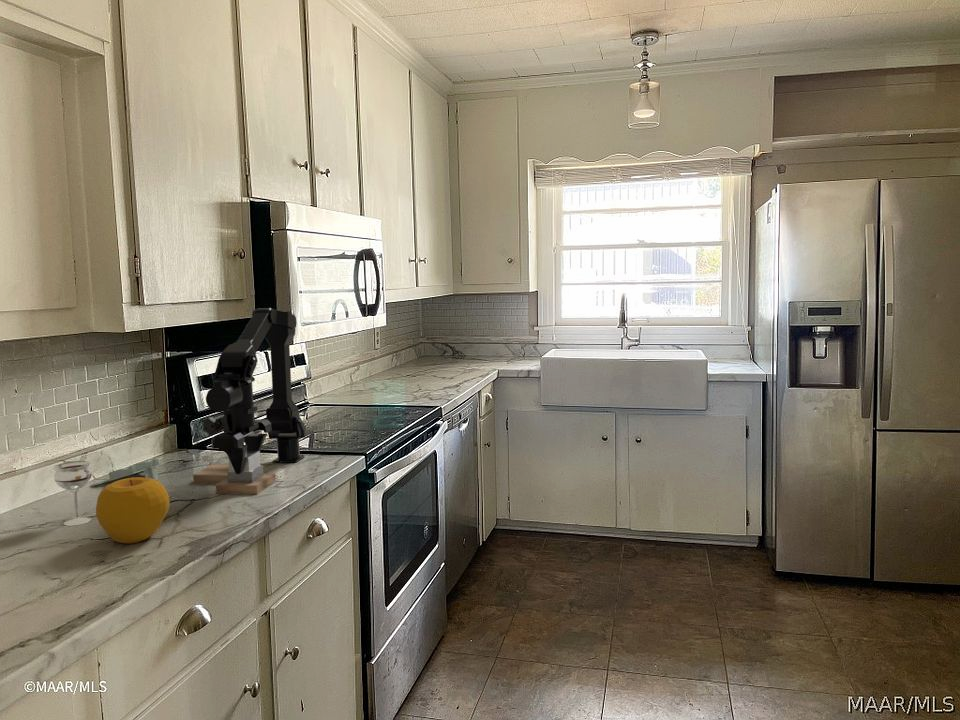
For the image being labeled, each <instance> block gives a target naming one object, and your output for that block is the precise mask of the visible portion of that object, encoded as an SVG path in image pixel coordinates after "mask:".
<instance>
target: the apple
mask: <svg viewBox="0 0 960 720" xmlns="http://www.w3.org/2000/svg"><path fill="white" fill-rule="evenodd" d="M170 502H171V501H170V496H169V494H168V491H167V489H166V487H165V486H164V485H163V484H162V483H161V482H160V480H158V481H157V480H156V479H151V478H145V477H143V476H140V477H139V476H137V477H133V476H132V477H127V478H125V477H124V478H122V479H119V480H116V481H114V482H111V483H109V484H107V485H105V487H104V488H103V489H102V490H101V491H100V493H98V496H97V500H96V507H95V515H96V518H97V521H98V523H99V525H100V527H101V528H102V530H104V532H105V533H106V534H107V536H108V537H109V538H110V539H111V540H113V541H114V542H117V543H120V544H129V545H130V544H136V543H139V542H143V541H145V540H146V539H148V538H149V537H151V536H153V535H154V534H155V533H157V531H158V530H159V528H160V526H161V524H162V523H163V522H164V519H165V517H166V515H167V514H168V512H169V508H170Z"/></svg>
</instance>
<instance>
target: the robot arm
mask: <svg viewBox="0 0 960 720" xmlns="http://www.w3.org/2000/svg"><path fill="white" fill-rule="evenodd" d="M251 314H252V315H251V316H252V317H251V318H250V320H249V321H248V323H247V324H246V325H245V328H244V329H243V331H242V333H241V335H240V336H239V338H238V339H237V340H236V341H234V342H233V343H231V344H229V345H227V346H226V347H225V349H224V350H222V352H221V354H220V356H219V358H218V361H217V364H216V368H215V372H214V376H213V380H212V381H213V382H212V383H213V384H212V385H213V387H211V388H209V390H208V391H207V393H206V396H205V401H206V405H207V406H208V408H209V409H210V410H211V411H213V412H215V413H222V412H223V414H222V415H223V416H219V418H216V419H215V418H214V417H213V416H210V417H207V418H205V419H203V420H202V421H203V422H202V431H203V432H205V433H206V434H207V435H208V436H209V437H212V436H213V437H212V438H211V440H210V441H211V448H212V449H213V450H214V449H217V450H219V451H222V452H224V453H226V455H227V457H229V458H228V460H229V459H230V462H231V464H232V466H233V468H234V471H235V473H236V474H241V471H242V467H243V463H244V458H245V454H246V451H260V452H261V450H262V447H263V445H264V443H265V441H266V438H267V437H268V439H269V440H270V439H276V446H277V447H276V449H277V458H274V459H273V460H272V462H273V463H297V462H299V461H300V460H302V459H303V458H304V457H306V456H305V454H301V451H300V439H304V438H306V436H307V427H306V425H305V423H304V421H303V419H302V418H301V416H300V410H299V407H298V406H297V404H296V403H295V402H294V400H293V396H292V393H293V392H292V373H291V371H292V370H291V354H290V353H291V352H290V351H291V350H290V345H291V342H292V340H294V338H295V335H296V327H297V324H298V323H297V317H296V315H295V314H293V313H292V311H290V310H277V309H275V308H271V307H264V308H261V307H260V308H256V309H253V310H252V313H251ZM264 339H265V340H266V341H267V343H268V345H269V348H270V365H271V368H270V369H271V370H270V371H271V384H272V385H271V388H272V389H271V390H272V402H271V404H270V405H269V407H267V408H266V410H265V416H266V419H263V418H262V419H255V412H257V411H258V405H254V392H253V382H255V381H256V378H255V377H254V376H253V375H254V371H255V369H256V368H257V367H256V366H257V364H258V358H257V352H258V351H259V350H258V349H259V348H260V346H261V345H262V342H263V341H264ZM263 432H264V433H263Z"/></svg>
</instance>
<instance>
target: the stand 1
mask: <svg viewBox="0 0 960 720" xmlns="http://www.w3.org/2000/svg"><path fill="white" fill-rule="evenodd" d="M228 471H229V463H213V464H211V465H209V466H207V467H206V468H203V469H202V470H199V471H197V472H196V473H194V474H192V479H193V484H218V483H220V482H222V481H223V480H225V479H227V478H228V477H227V472H228Z"/></svg>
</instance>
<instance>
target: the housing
mask: <svg viewBox="0 0 960 720" xmlns="http://www.w3.org/2000/svg"><path fill="white" fill-rule="evenodd" d="M227 457H228V456H227ZM228 464H229V471H228V472H227V477H228V483H253V482H254V481H256V480H258V479H259V478H261V477H262V476H264V473H265V472H264V465H263V464H262V463H261V450H260V451H247V450H246V454H245V458H244V463H243V467H242V471H241V474H236V473H235V471H234V468H233V466H232V464H231V462H230V459H229V457H228Z"/></svg>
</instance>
